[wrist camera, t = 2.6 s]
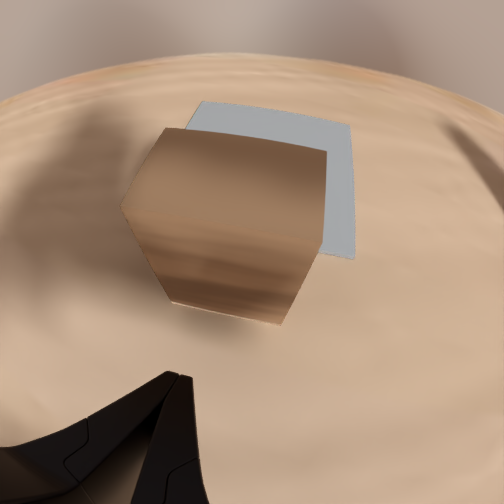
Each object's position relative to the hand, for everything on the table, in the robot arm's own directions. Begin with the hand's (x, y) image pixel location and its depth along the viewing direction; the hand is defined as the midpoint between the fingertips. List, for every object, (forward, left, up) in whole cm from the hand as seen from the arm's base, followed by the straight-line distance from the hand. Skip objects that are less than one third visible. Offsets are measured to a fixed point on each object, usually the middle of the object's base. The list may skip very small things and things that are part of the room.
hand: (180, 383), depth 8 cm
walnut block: (+5, +5, -8) cm, 11 cm away
